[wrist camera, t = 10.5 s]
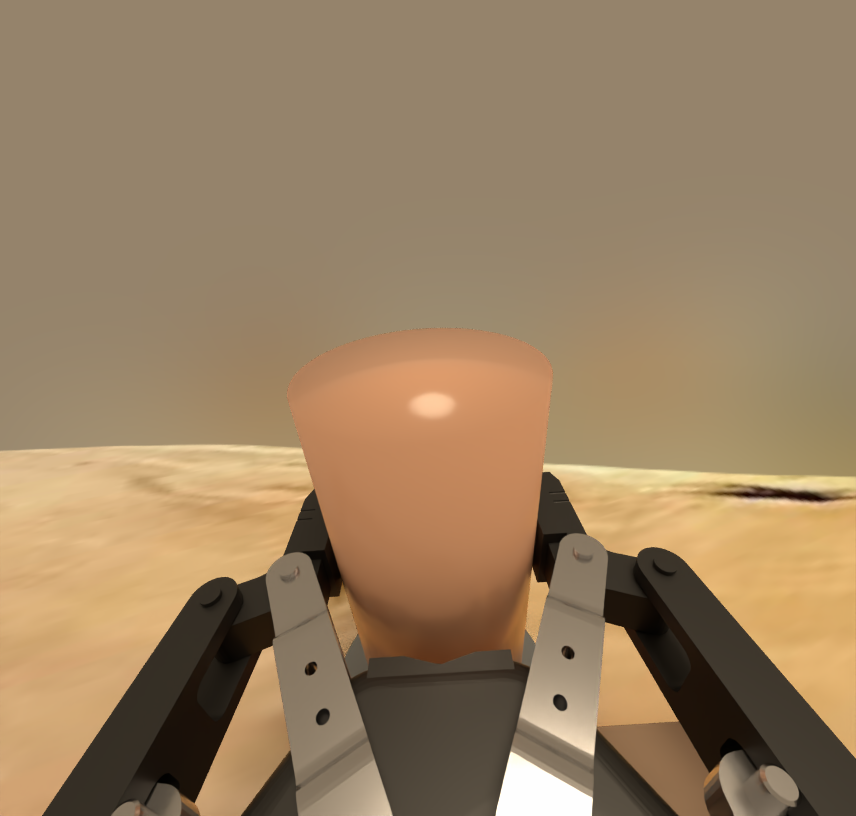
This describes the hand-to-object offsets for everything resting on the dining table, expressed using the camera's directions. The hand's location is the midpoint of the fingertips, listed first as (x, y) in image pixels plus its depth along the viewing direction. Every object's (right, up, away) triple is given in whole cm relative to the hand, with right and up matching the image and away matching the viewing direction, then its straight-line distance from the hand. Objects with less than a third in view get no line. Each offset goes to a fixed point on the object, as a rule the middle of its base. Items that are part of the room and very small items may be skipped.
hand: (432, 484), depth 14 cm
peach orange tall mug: (+1, -7, +3) cm, 8 cm away
